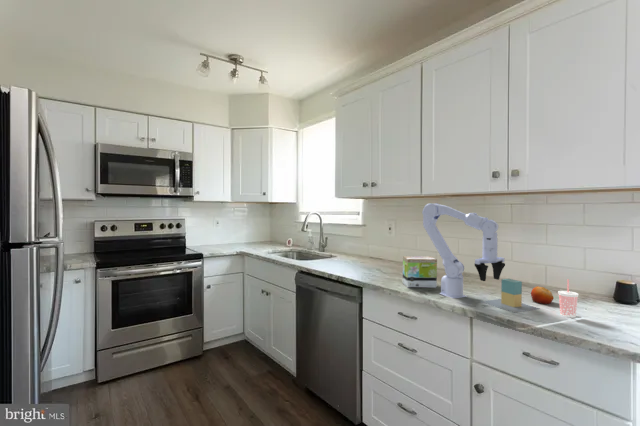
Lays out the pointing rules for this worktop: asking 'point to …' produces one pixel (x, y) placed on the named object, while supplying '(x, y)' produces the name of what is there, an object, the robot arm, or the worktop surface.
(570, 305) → the beverage cup
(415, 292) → the worktop surface
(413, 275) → the tea box
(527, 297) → the worktop surface
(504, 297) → the mustard brick
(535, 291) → the fruit
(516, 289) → the teal brick
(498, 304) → the baseplate
